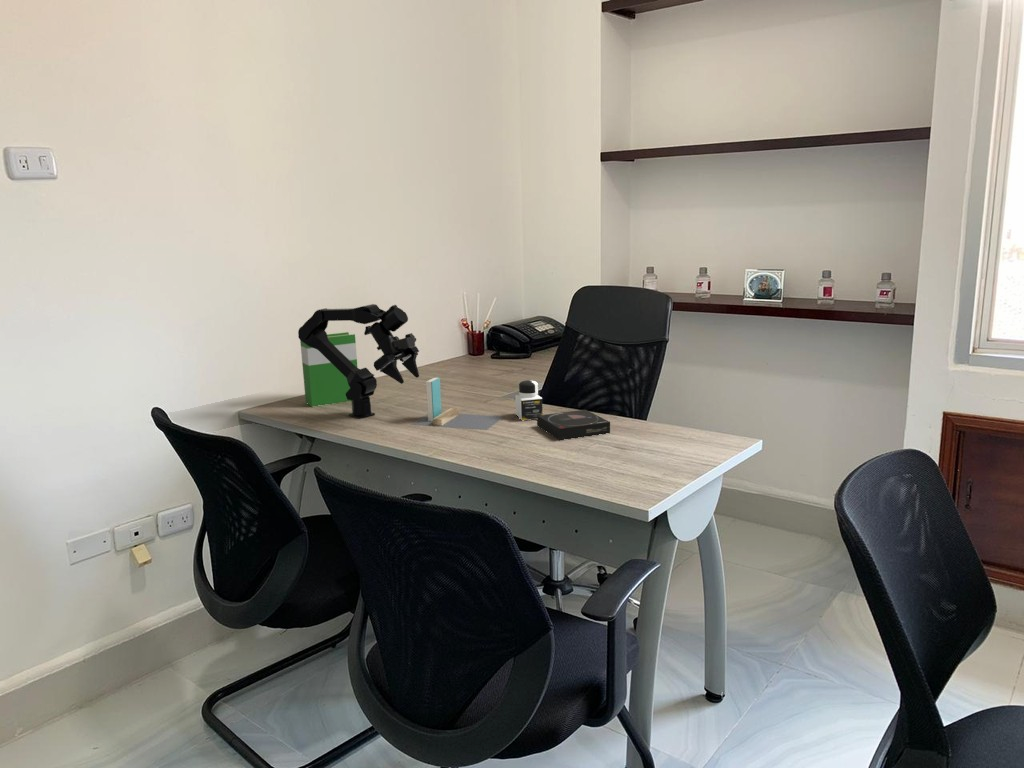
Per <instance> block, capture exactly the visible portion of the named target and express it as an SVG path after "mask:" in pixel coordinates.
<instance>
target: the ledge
mask: <svg viewBox="0 0 1024 768" xmlns="http://www.w3.org/2000/svg"><path fill="white" fill-rule="evenodd" d="M459 414H460V408H455V407H450V408H449V409H446V410H445V411H442V414H440V415H438V416H437V417H435V418H434V419H433V425H438V426H442V425H444V424H445V423H447V422H448V421H450V420H451V419H453V418H455V417H456V416H458V415H459Z"/></svg>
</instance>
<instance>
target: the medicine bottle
mask: <svg viewBox="0 0 1024 768" xmlns="http://www.w3.org/2000/svg"><path fill="white" fill-rule="evenodd" d="M518 388H519V389H518V393H519V394H515V396H514V397H515V398H514V399H515V416H516V415H517V416H518V417H519V418H520V419H521V420H528V421H532V420H531V419H537V417H538V415H544V414H543V397H542V396H540V395H539V383H538V382H537V381H535V380H528V379H527V380H523V381H520V382H519V383H518ZM517 416H516V417H517ZM518 417H517V418H518ZM519 418H518V419H519ZM520 419H519V420H520ZM521 420H520V421H521Z"/></svg>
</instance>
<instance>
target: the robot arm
mask: <svg viewBox="0 0 1024 768" xmlns="http://www.w3.org/2000/svg"><path fill="white" fill-rule="evenodd" d="M330 321H331V322H332V321H333V322H335V321H340V322H341V321H343V322H344V321H351V322H354V323H356V324H357V323H358V324H361V325H362V324H363V325H366V326H365V329H364V332H363V333H364V334H363V335H364V336H367V335H371V336H372V338H373V339H374V342H376V344H377V347H376V349H377V351H381V352H382V355H381V356H380V357H378V358H377V359H376V360H374V362H373V367H374V370H375V371H376V372H377V371H379V373H383V374H385V375H387V376H389V377H390V378H392V379H393V380H394V381H396V382H398V383H399V384H401V385H402V384H404V383H405V381H404V378H403V376H402V374H401V372H400V370H399V369H398V367H397V365H398V361H400V362H401V364H402V366H403V367H404V368H406V370H407V371H409V373H411V374H412V375H413V376H414V378H416V379H418V378H419V377H420V373H419V370H418V366H417V356H418V355H419V352H420V350H419V349H418V347H417V346H416V342H417V338H416V337H415V335H414V334H413V332H412V333H407V334H405V336H404V337H402V338H399V337H398V336H397V335H395V336H394V335H393V333H392V332H396V331H397V330H398V329H401V328H402V327H403V326H404V325H405V324H406V323H407V322H408V321H409V317H408V314H407V313H406V311H404V310H403V309H401V308H400V307H398V305H397V304H393V305H391V306H390V307H389V308H388V309H387V310H383V309H381V308H380V307H379V306H378V305H377V304H374V303H372V304H368V305H363V306H358V307H354V308H320V309H317V310H315V311H314V312H313V314H312V316H311V317H310V318H308V320H307V321H305V322H304V323H303V324H302V326H300V327H299V329H298V331H297V333H298V334H297V335H298V339H299V341H300V340H301V341H302V342H303V343H305V344H306V345H307V346H309V347H312V348H315V349H317V350H318V351H319V352H320V353H321V354H322V355H324V356H325V357H326V358H327V359H328V360H329V361H330V362H331V363H332V364H333V365H334V366H335V367H336V368H337V369H338V370H339V371H340V372H341V373H342V374H343V375H344V376H345V377H346V378H347V381H348V385H349V387H350V389H349V390H348V391H347V393H346V397H347V400H351V401H350V402H351V413H348V416H349V417H354V418H357V419H362V418H363V419H364V418H365V417H371V416H375V415H376V413H375V412H373V411H372V406H371V398H370V397H371V396H374V394H375V390H376V389H377V386H378V383H377V382H378V381H377V379H376V377H375V374H374V373H372V372H371V371H370V369H368V367H362V368H359V367H358V366H357V367H356V366H355V365H354V364H353V363H352V362H351V361H350V360H349V359H348V358H347V357H345V356H344V355H343V354H342V353H341V352H340V351H339V350H338V349H337V348H336V347H335V346H334V345H333V344H332V343H331V342H330V341H329V340H328V336H327V334H328V333H327V331H326V329H327V328H328V324H329V322H330ZM371 323H372V324H371ZM367 324H371V325H367Z"/></svg>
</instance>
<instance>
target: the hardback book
mask: <svg viewBox="0 0 1024 768" xmlns="http://www.w3.org/2000/svg"><path fill="white" fill-rule="evenodd" d="M327 336H328V340H329V341H330V342H331V343H332V344H333V345H334V346H335V347H336V348H337V349H338V350H339V351H340V352H341V353H342V354H343V355H344V356H345V357H347V358H348V359H349V360H350V361H351V362H352V363H353V364H354V365H355V366H356V367H357V368H358V357H357V356H358V355H357V343H356V334H354V333H353V334H350V333H349V332H348V331H346V332H337V333H329V334H328V333H327ZM299 343H300V350H301V351H300V352H301V364H302V376H303V385H304V398H305V399H304V400H305V404H306V403H308V404H309V405H311V406H318V405H324V406H326V405H325V404H330V405H333V404H332V403H336V404H340V403H339V402H343V403H346V402H345V401H349V402H352V401H351V400H347V397H346V393H347V391H348V390H349V389H350V387H349V385H348V381H347V378H346V377H345V376H344V375H343V374H342V373H341V372H340V371H339V370H338V369H337V368H336V367H335V366H334V365H333V364H332V363H331V362H330V361H329V360H328V359H327V358H326V357H325V356H324V355H322V354H321V353H320V352H319V351H318V350H317V349H315V348H312V347H309V346H307V345H306V344H305V343H303V342H302V341H301V340H300V339H299ZM308 404H307V405H308ZM309 405H308V406H309ZM311 406H310V407H311ZM318 407H319V406H318Z"/></svg>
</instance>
